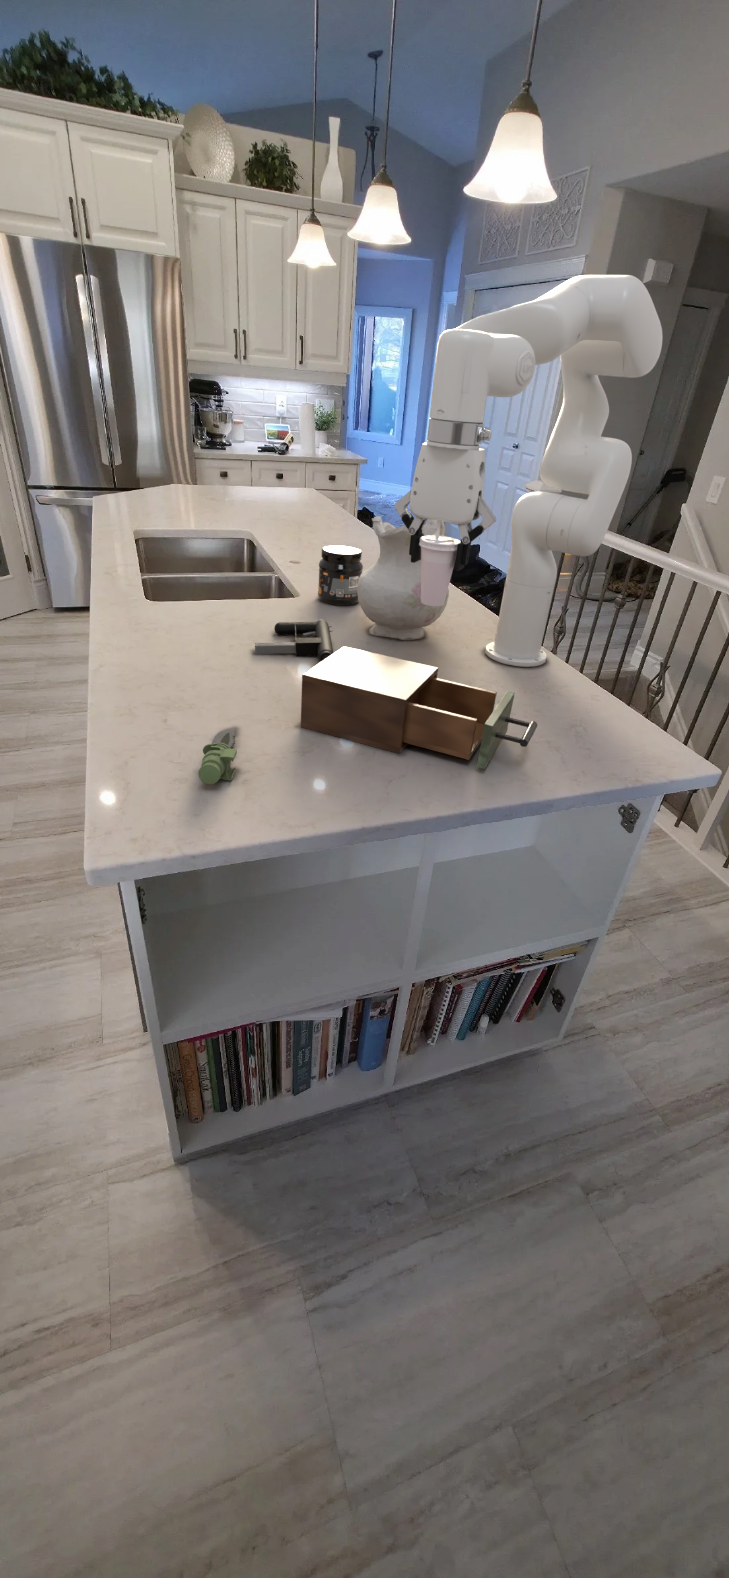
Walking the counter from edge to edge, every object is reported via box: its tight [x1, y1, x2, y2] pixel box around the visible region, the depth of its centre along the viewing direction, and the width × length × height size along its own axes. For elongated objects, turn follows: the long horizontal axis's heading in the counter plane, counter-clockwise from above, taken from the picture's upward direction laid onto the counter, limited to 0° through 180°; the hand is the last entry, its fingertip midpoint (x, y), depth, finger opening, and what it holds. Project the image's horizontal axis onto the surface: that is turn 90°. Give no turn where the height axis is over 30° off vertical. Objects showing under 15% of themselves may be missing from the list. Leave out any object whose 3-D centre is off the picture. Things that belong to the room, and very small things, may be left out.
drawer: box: [403, 677, 538, 770], centre depth 102 cm, size 20×14×7 cm, turn 66°
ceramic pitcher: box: [357, 515, 450, 641], centre depth 143 cm, size 22×20×25 cm
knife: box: [198, 728, 238, 785], centre depth 95 cm, size 4×18×5 cm
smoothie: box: [419, 521, 461, 606], centre depth 104 cm, size 6×6×14 cm
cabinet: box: [300, 645, 439, 755], centre depth 107 cm, size 17×15×9 cm
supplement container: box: [317, 544, 364, 606], centre depth 163 cm, size 10×10×12 cm
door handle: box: [254, 619, 334, 663], centre depth 135 cm, size 3×20×16 cm
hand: (437, 564), depth 105 cm, fingers closed on smoothie, 6 cm apart
